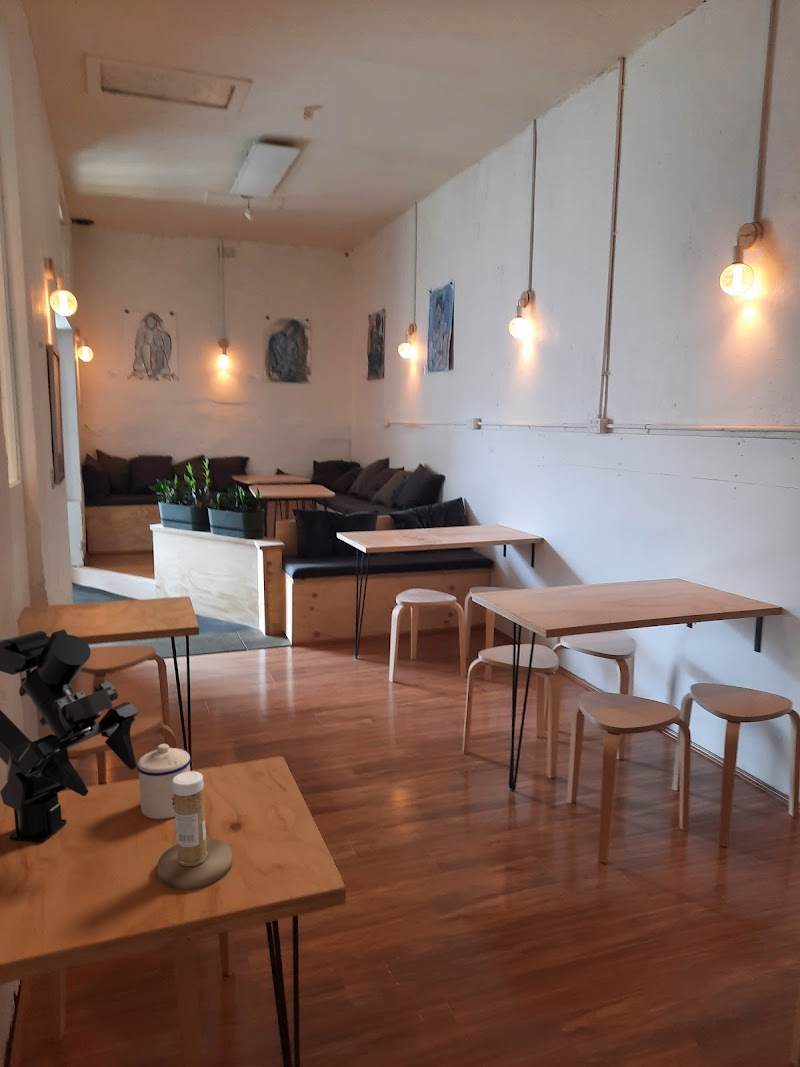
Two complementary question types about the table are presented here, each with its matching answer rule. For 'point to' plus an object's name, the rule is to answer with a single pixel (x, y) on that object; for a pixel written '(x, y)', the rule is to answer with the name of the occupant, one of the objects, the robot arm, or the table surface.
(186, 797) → the sprinkles bottle
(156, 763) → the cream ceramic jar
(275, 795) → the table surface
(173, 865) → the grey-brown round disc
